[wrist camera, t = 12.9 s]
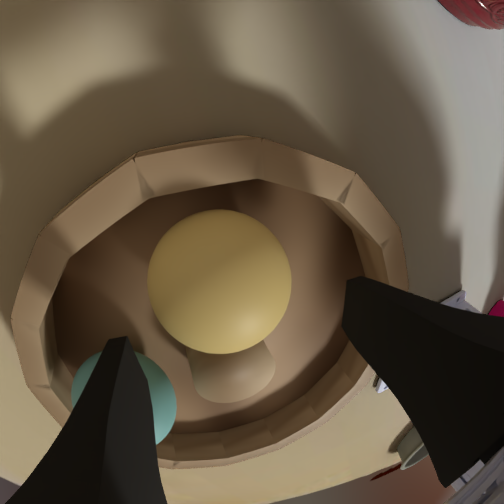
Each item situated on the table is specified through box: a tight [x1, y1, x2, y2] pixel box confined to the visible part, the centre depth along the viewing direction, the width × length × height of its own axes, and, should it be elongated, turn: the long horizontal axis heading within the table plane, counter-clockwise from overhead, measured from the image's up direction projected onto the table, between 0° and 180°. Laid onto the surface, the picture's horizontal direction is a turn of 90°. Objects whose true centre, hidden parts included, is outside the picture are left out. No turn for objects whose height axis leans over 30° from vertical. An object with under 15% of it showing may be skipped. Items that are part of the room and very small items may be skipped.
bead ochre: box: [147, 209, 292, 354], centre depth 9 cm, size 5×5×5 cm
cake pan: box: [397, 426, 429, 469], centre depth 38 cm, size 25×25×4 cm
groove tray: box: [11, 135, 409, 469], centre depth 13 cm, size 18×18×3 cm
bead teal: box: [71, 351, 177, 445], centre depth 10 cm, size 5×5×5 cm
